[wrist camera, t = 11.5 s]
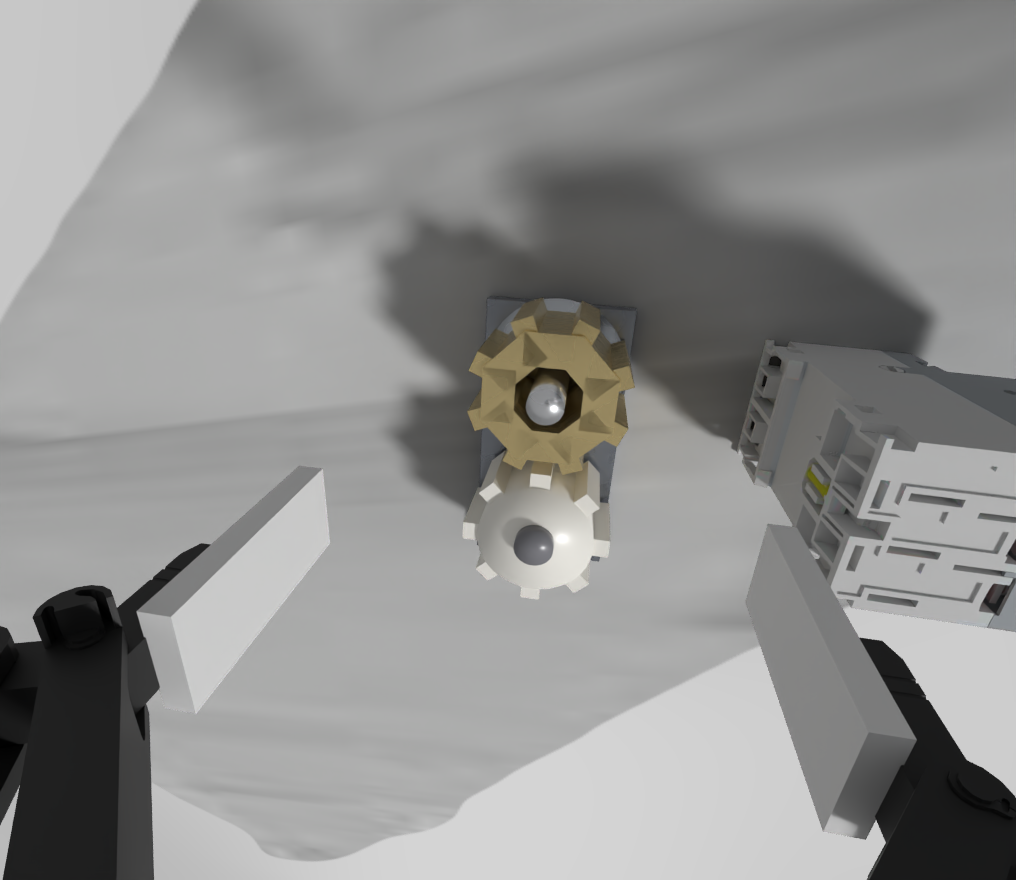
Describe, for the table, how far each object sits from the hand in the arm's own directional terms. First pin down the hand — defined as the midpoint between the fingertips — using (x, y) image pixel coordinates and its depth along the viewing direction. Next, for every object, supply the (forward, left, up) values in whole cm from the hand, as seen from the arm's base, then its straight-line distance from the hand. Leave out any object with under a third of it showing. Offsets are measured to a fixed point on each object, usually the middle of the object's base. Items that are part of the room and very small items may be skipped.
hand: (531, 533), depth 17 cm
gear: (+1, +10, -20) cm, 22 cm away
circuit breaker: (-19, +2, -21) cm, 28 cm away
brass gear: (+1, +1, -20) cm, 20 cm away
